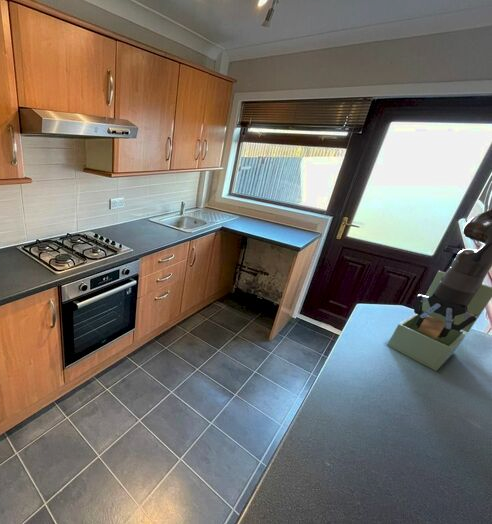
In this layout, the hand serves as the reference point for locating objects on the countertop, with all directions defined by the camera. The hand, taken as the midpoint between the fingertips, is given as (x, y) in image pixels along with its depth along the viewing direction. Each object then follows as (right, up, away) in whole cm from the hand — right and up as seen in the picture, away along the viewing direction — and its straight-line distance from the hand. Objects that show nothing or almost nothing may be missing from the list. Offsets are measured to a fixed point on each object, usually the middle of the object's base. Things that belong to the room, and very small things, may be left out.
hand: (429, 331), depth 88 cm
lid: (+7, +9, 0) cm, 12 cm away
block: (0, 0, 0) cm, 0 cm away
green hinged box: (+1, -7, +4) cm, 9 cm away
